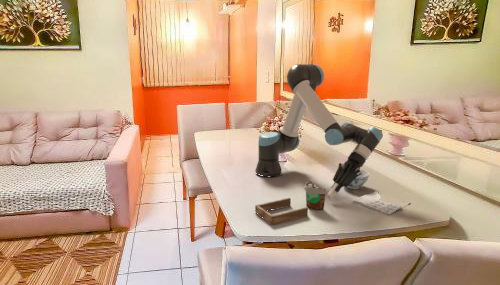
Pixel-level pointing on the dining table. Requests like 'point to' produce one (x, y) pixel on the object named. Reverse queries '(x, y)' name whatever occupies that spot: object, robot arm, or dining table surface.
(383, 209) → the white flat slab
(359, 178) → the chinaware
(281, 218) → the caddy
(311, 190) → the food container
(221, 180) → the dining table surface
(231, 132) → the dining table surface
